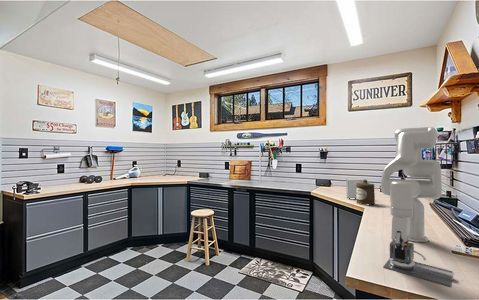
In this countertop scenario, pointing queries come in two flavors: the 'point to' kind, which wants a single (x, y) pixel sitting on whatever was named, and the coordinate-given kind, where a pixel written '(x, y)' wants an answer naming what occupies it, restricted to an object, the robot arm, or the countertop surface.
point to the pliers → (420, 254)
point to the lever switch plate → (421, 271)
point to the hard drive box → (352, 187)
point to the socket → (408, 250)
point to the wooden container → (365, 193)
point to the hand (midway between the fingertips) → (401, 255)
